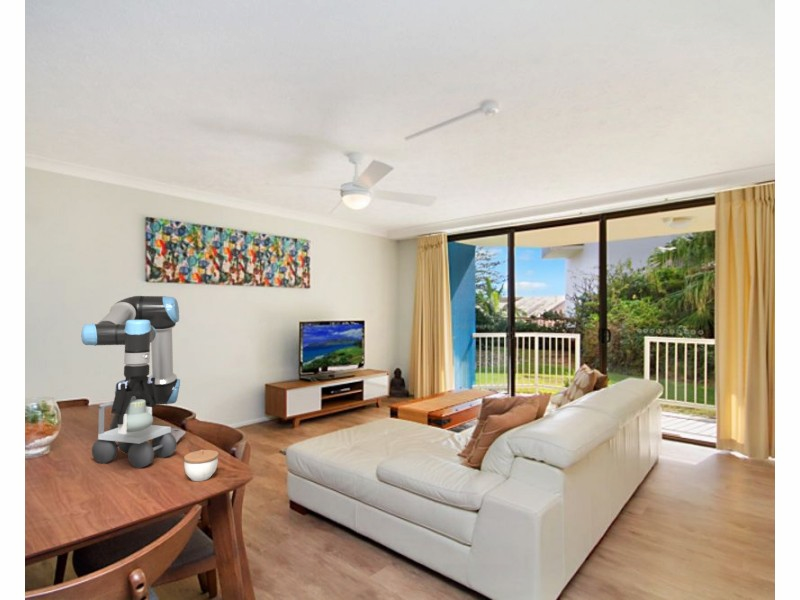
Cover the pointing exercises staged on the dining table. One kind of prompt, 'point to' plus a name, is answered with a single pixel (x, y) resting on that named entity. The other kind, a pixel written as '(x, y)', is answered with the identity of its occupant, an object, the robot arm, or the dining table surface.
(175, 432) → the decorative stone
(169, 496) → the dining table surface
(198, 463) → the lidded jar
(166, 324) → the robot arm
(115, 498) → the dining table surface
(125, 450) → the trolley
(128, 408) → the air freshener
